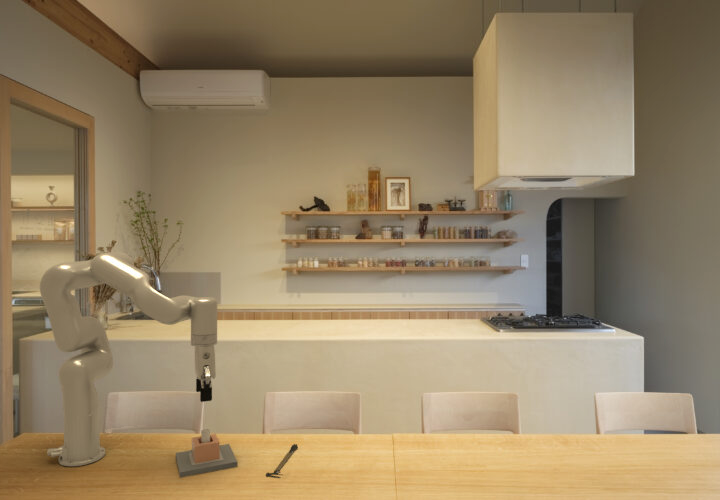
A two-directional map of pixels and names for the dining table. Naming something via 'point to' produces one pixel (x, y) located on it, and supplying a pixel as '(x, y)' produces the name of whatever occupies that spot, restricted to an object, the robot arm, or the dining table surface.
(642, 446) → the dining table surface
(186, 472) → the post board
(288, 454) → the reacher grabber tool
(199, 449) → the collar
